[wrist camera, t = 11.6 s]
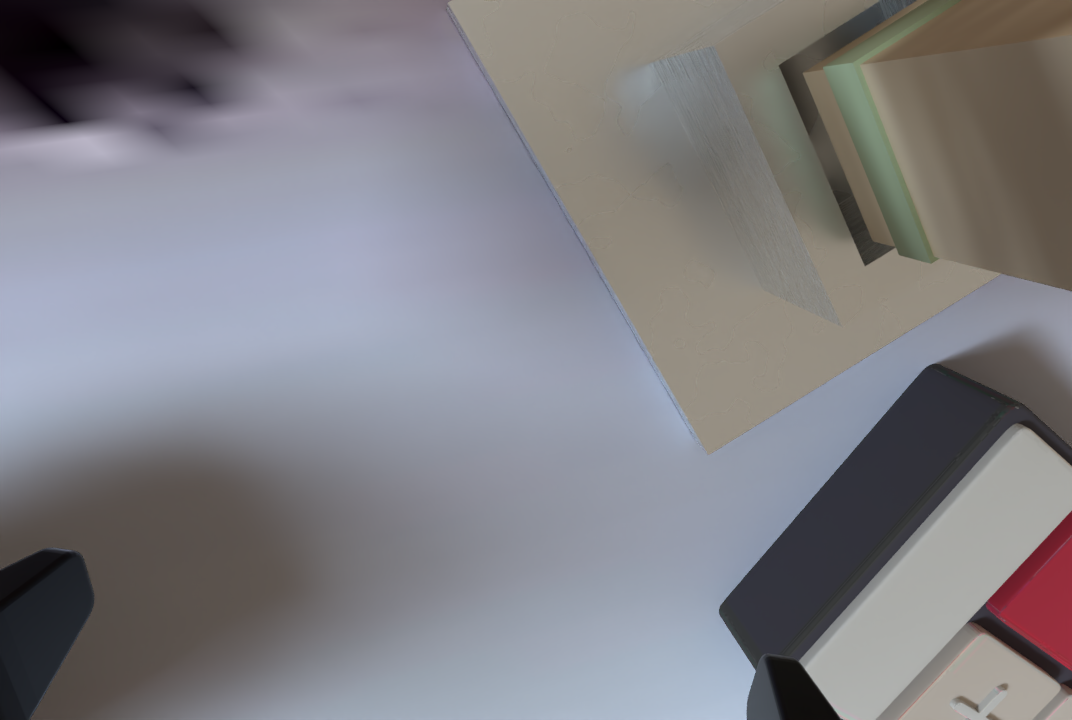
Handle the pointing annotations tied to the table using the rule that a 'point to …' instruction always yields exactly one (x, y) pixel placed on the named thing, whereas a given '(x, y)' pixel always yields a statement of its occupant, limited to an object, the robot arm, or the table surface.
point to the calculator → (928, 566)
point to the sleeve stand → (710, 188)
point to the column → (960, 133)
